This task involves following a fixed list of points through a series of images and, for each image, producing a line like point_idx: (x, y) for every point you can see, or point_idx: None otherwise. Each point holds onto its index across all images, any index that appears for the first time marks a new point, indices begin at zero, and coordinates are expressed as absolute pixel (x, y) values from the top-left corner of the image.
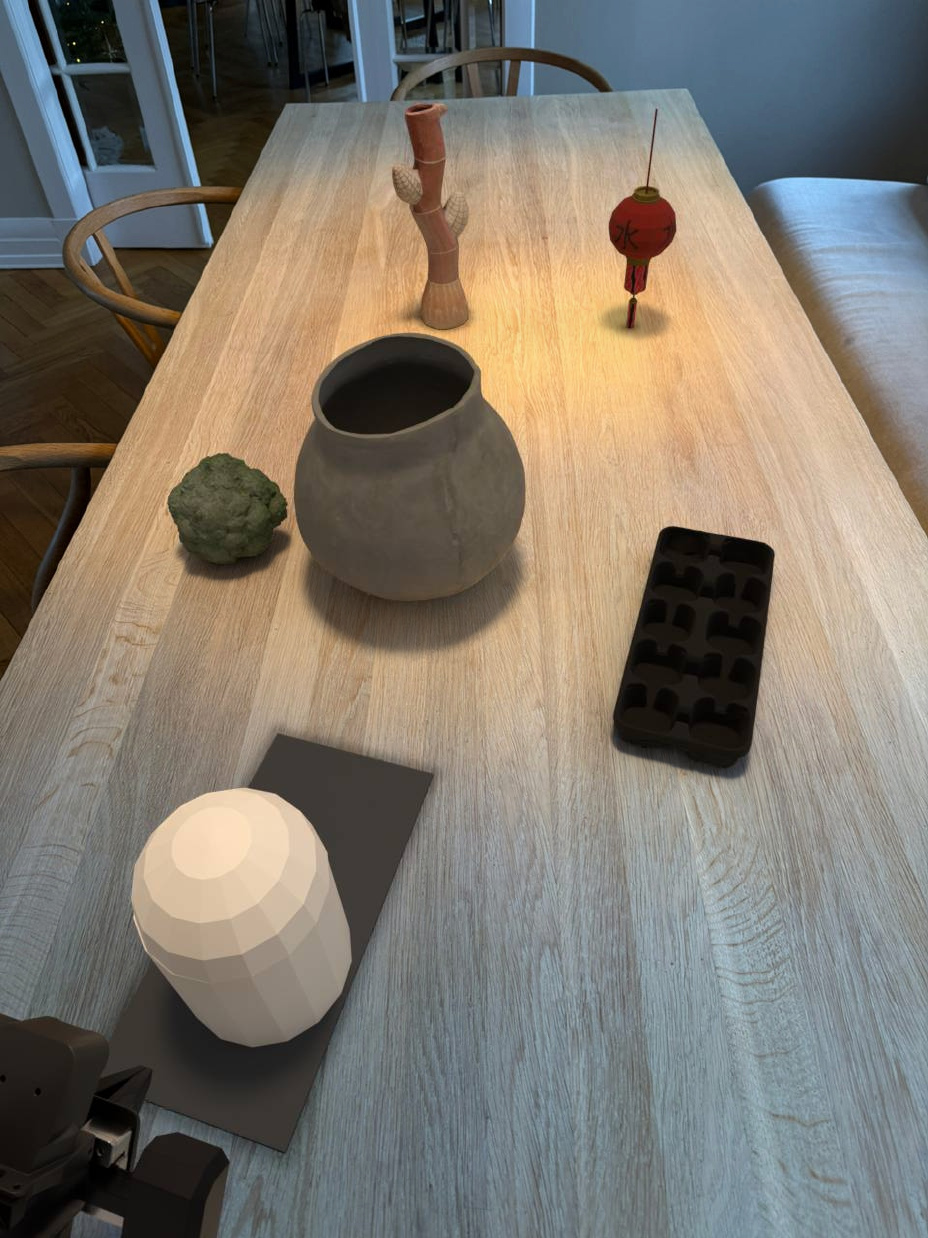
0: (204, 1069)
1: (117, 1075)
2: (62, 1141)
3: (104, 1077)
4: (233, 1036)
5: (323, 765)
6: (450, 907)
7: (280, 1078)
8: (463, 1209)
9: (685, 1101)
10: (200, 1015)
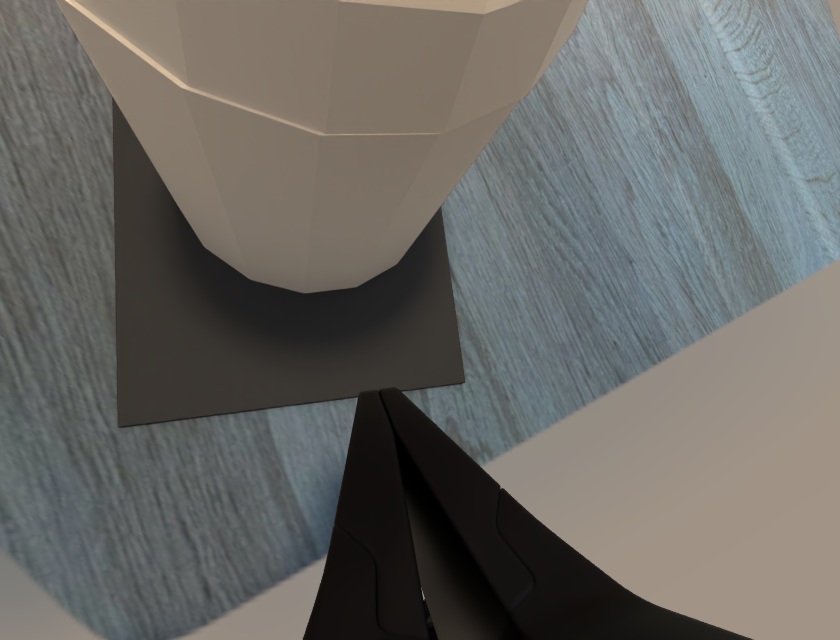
0: (305, 338)
1: (365, 460)
2: None
3: (348, 497)
4: (337, 280)
5: None
6: None
7: (413, 308)
8: (649, 349)
9: (757, 191)
10: (286, 265)
